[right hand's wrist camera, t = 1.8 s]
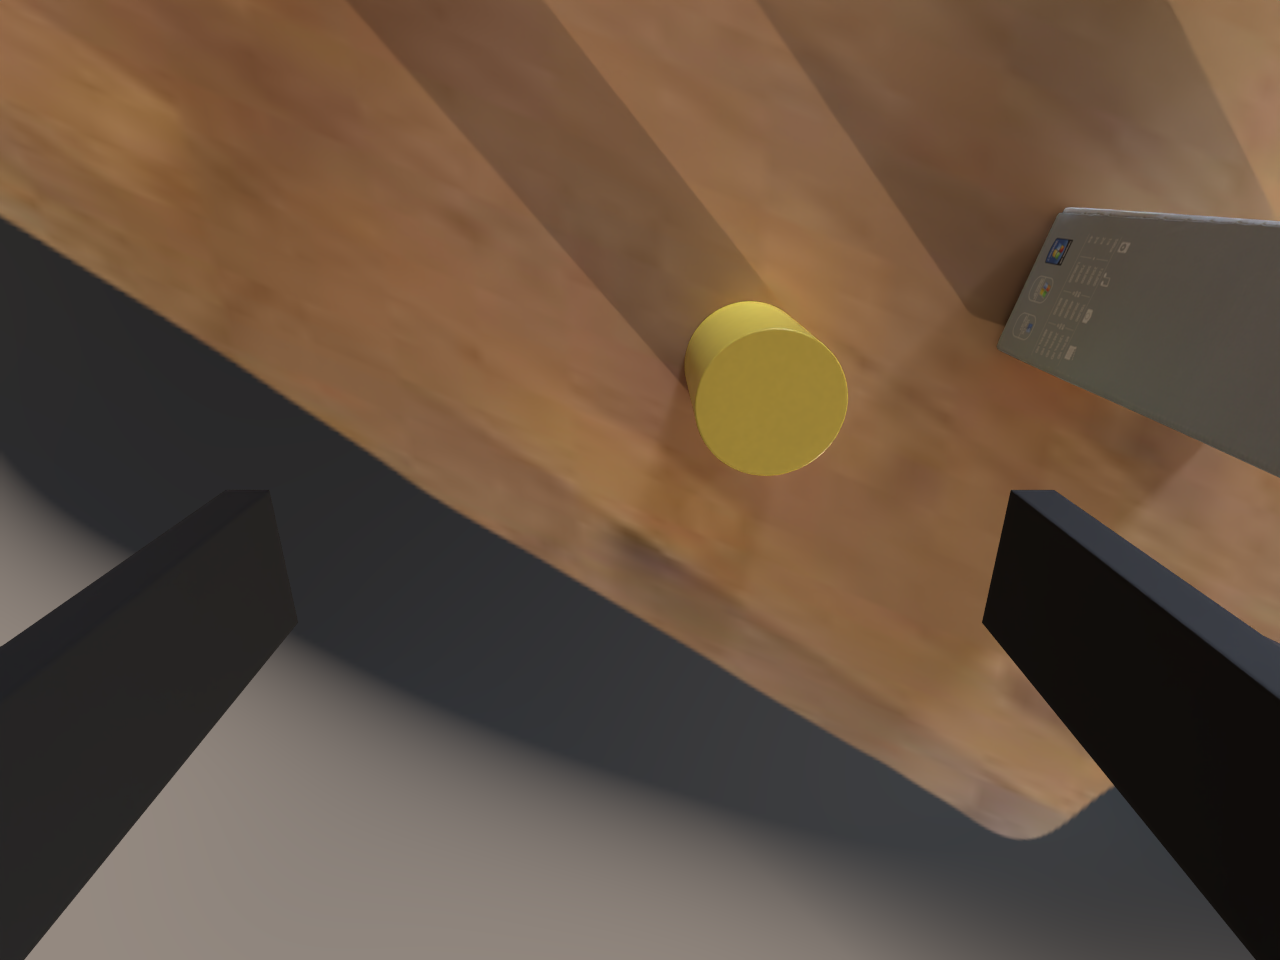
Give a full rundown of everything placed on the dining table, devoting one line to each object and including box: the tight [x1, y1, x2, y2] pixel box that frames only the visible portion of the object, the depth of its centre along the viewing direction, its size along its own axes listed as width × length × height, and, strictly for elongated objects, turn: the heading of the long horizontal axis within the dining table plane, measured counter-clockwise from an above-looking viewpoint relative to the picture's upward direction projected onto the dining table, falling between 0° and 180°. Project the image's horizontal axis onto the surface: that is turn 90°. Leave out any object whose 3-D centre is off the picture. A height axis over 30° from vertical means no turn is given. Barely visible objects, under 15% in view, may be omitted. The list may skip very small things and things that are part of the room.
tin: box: [684, 301, 848, 476], centre depth 34 cm, size 7×7×8 cm
